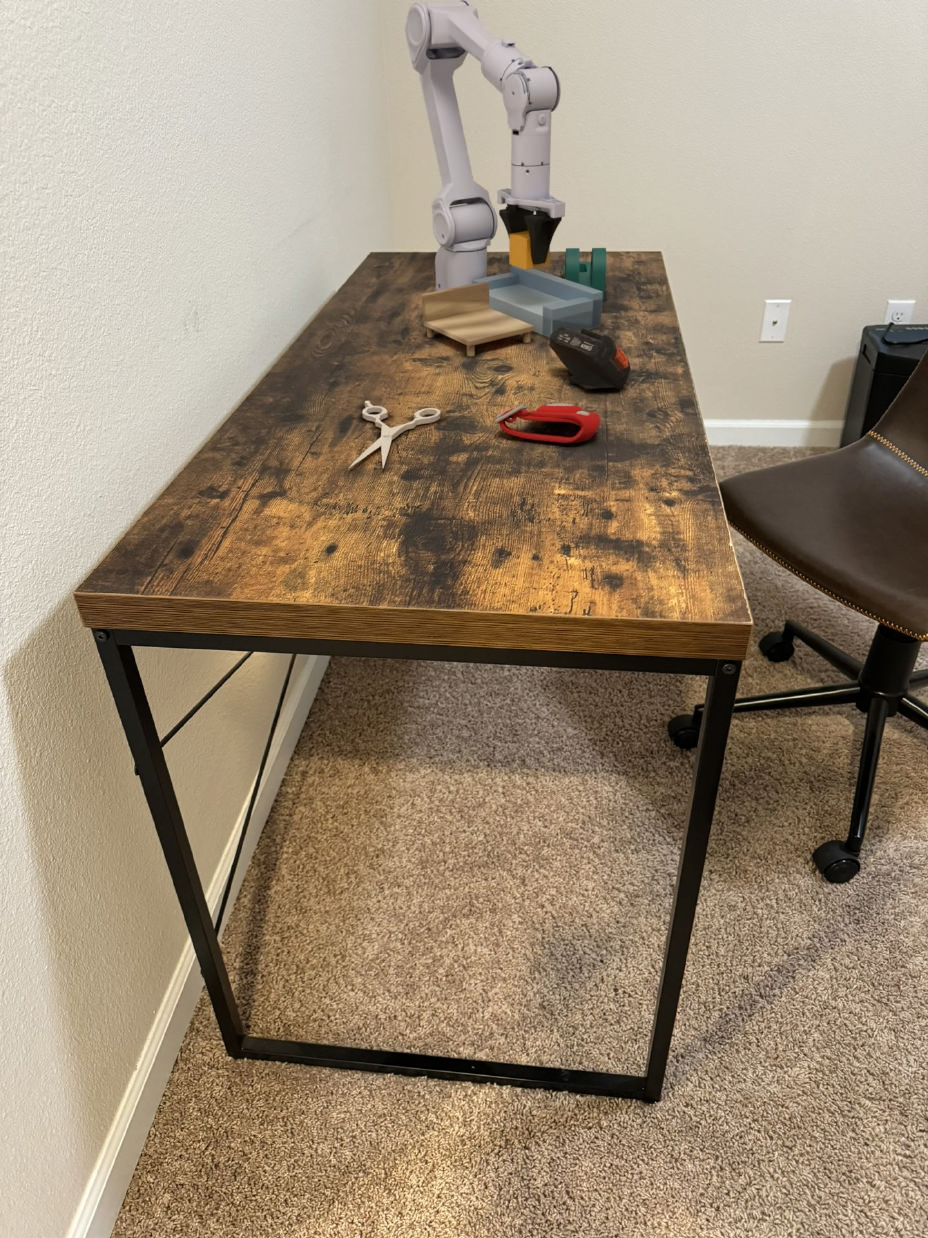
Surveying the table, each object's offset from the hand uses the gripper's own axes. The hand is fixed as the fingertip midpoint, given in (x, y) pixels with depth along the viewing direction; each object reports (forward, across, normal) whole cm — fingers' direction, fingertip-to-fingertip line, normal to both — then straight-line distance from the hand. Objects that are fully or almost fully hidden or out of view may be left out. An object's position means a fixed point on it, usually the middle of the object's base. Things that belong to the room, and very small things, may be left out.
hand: (529, 259), depth 142 cm
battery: (+10, +26, -8) cm, 29 cm away
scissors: (+10, +26, -40) cm, 49 cm away
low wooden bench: (+10, +1, -10) cm, 14 cm away
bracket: (+10, -13, +21) cm, 27 cm away
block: (+1, 0, 0) cm, 1 cm away
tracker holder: (+10, +36, -23) cm, 44 cm away
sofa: (+10, -4, +4) cm, 11 cm away
